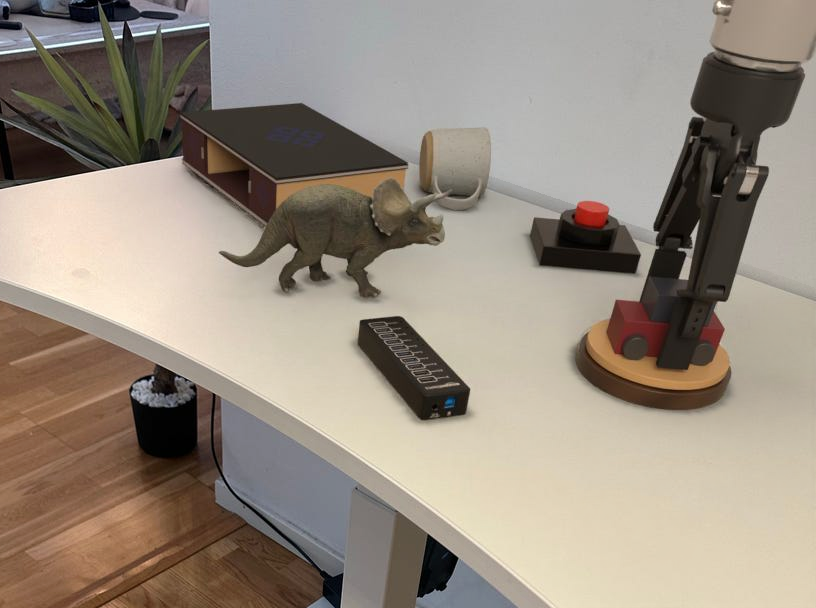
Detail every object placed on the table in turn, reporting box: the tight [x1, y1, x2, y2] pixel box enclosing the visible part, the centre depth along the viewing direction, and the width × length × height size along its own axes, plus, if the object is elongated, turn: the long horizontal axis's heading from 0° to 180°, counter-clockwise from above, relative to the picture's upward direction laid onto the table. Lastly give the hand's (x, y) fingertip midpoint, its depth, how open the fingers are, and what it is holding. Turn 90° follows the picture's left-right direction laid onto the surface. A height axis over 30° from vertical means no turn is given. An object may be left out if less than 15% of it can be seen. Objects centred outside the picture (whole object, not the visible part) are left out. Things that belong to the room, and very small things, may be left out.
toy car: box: [586, 277, 731, 390], centre depth 82 cm, size 13×13×6 cm
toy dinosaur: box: [218, 177, 452, 299], centre depth 90 cm, size 22×8×11 cm, turn 90°
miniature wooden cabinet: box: [179, 102, 409, 227], centre depth 110 cm, size 17×25×7 cm
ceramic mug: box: [418, 126, 492, 211], centre depth 114 cm, size 11×8×8 cm
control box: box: [529, 208, 642, 275], centre depth 104 cm, size 11×9×4 cm
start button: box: [574, 200, 610, 226], centre depth 103 cm, size 4×4×2 cm
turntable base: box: [575, 330, 733, 411], centre depth 85 cm, size 14×14×2 cm
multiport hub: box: [357, 315, 471, 421], centre depth 81 cm, size 4×14×2 cm, turn 21°
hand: (659, 342), depth 84 cm, fingers open, 9 cm apart
